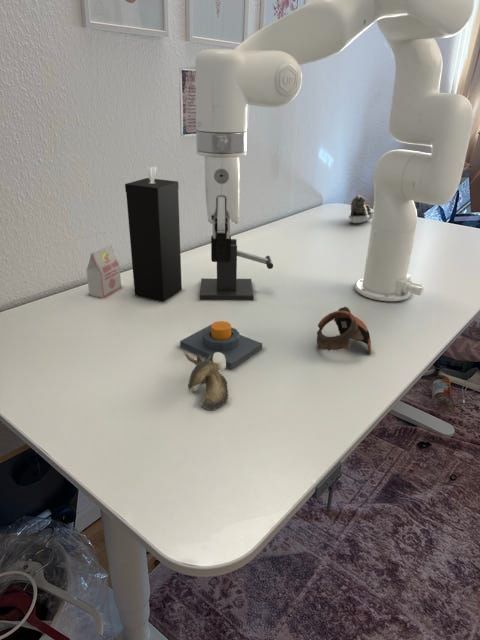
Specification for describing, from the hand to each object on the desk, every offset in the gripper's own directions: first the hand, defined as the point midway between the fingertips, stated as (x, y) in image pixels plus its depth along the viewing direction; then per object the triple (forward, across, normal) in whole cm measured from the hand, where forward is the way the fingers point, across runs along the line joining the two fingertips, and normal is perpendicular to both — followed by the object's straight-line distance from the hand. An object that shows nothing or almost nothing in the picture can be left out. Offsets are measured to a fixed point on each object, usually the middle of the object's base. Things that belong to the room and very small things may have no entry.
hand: (221, 260), depth 80 cm
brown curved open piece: (+17, +1, -23) cm, 29 cm away
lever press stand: (+17, +26, -1) cm, 32 cm away
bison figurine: (+17, +88, -49) cm, 102 cm away
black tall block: (+17, +25, +14) cm, 34 cm away
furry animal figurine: (+17, -14, +2) cm, 22 cm away
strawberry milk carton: (+17, +26, +26) cm, 41 cm away
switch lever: (+9, +26, -6) cm, 29 cm away
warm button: (+14, 0, 0) cm, 14 cm away
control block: (+17, 0, 0) cm, 17 cm away
